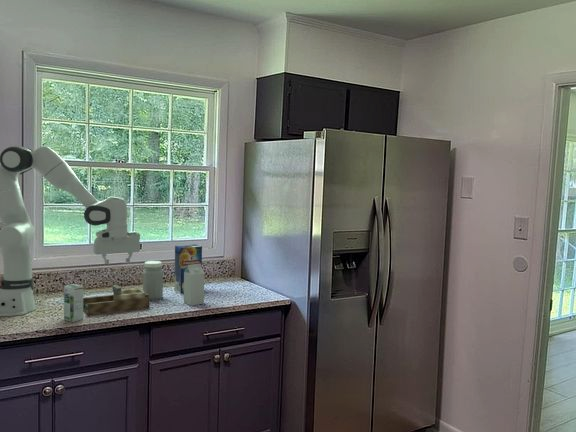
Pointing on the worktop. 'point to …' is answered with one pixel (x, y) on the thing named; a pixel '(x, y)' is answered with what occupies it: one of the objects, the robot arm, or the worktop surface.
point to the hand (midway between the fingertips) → (117, 262)
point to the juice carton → (185, 263)
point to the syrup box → (73, 302)
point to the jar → (153, 279)
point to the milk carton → (194, 285)
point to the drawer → (126, 293)
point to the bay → (113, 304)
